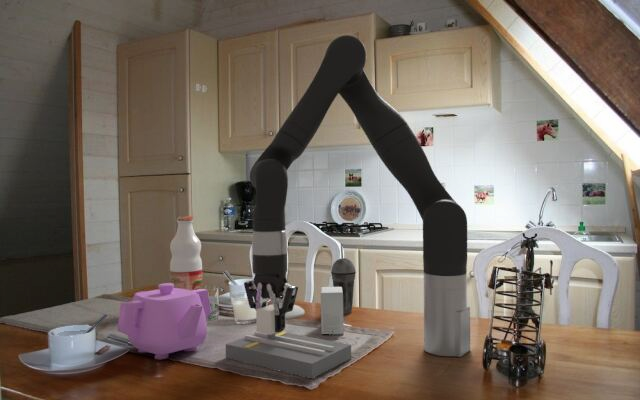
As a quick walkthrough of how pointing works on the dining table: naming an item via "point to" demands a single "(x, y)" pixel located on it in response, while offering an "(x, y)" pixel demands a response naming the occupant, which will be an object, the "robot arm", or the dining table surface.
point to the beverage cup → (344, 280)
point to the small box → (332, 310)
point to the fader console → (289, 353)
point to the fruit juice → (185, 256)
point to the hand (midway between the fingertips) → (271, 329)
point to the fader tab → (266, 321)
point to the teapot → (165, 320)
